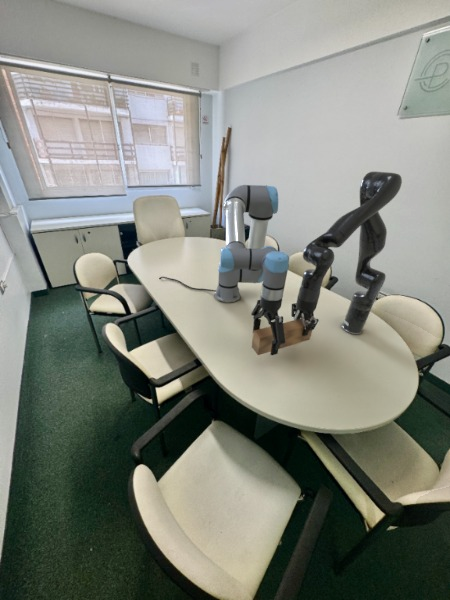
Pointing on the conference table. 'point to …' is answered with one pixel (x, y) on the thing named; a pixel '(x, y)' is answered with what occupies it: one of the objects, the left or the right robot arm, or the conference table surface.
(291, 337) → the bar
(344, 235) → the right robot arm
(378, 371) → the conference table surface
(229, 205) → the left robot arm
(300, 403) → the conference table surface
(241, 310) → the conference table surface
